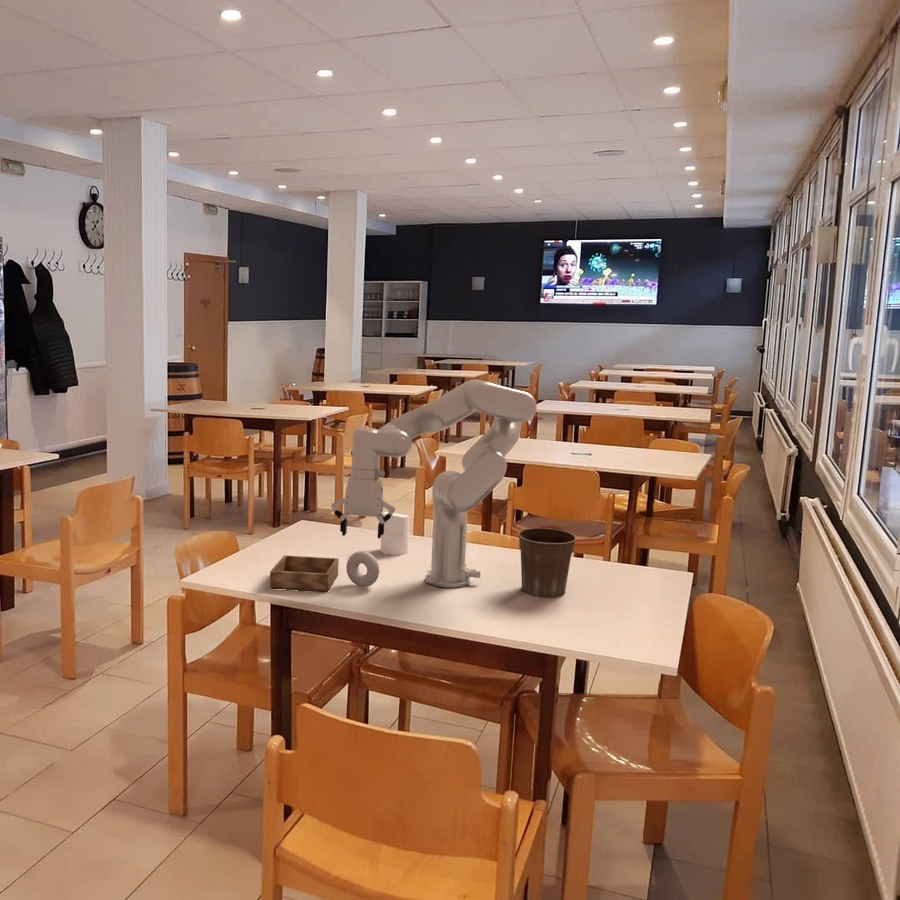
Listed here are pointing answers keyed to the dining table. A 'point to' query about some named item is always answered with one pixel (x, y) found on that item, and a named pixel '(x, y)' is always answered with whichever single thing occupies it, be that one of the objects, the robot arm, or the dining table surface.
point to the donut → (370, 565)
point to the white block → (396, 535)
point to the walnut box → (304, 573)
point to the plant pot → (545, 560)
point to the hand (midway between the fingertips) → (361, 535)
